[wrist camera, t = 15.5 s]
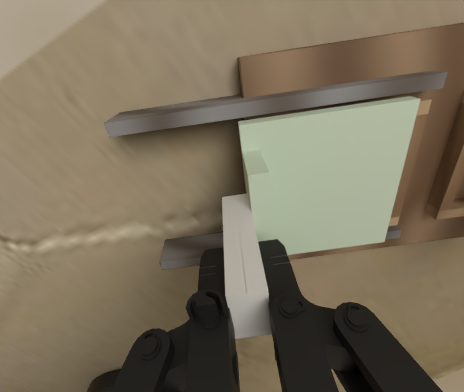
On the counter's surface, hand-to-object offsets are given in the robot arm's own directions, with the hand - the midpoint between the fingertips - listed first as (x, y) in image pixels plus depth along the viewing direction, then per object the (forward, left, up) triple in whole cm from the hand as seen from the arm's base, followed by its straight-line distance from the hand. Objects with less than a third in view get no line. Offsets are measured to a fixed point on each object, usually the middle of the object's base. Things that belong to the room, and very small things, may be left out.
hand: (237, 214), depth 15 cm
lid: (+5, 0, -2) cm, 6 cm away
